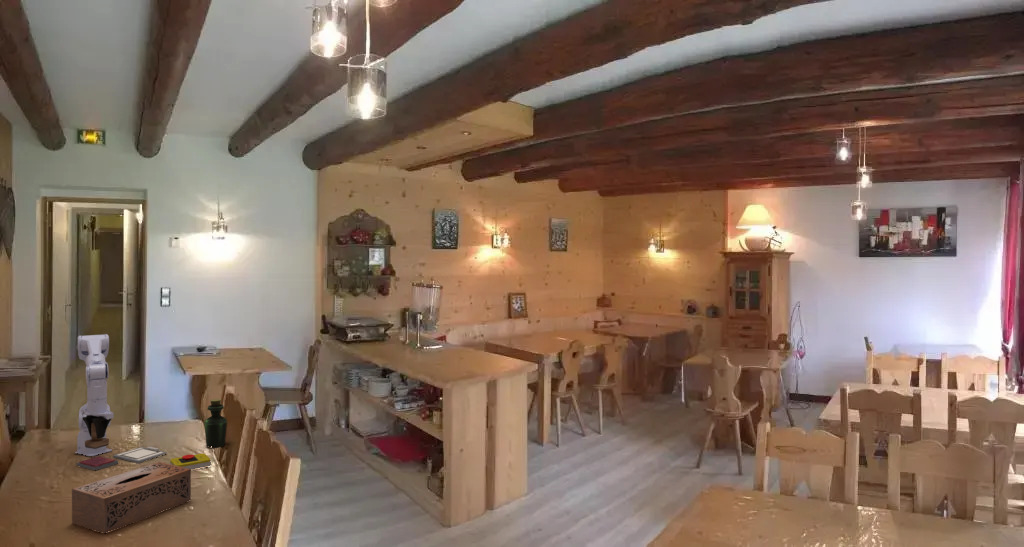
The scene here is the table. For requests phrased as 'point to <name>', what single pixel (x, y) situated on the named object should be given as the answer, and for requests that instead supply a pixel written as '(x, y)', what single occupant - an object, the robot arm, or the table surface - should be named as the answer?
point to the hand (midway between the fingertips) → (97, 436)
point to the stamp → (95, 440)
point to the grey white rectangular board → (139, 454)
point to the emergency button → (191, 461)
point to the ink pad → (97, 463)
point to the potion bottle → (215, 425)
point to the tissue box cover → (130, 496)
